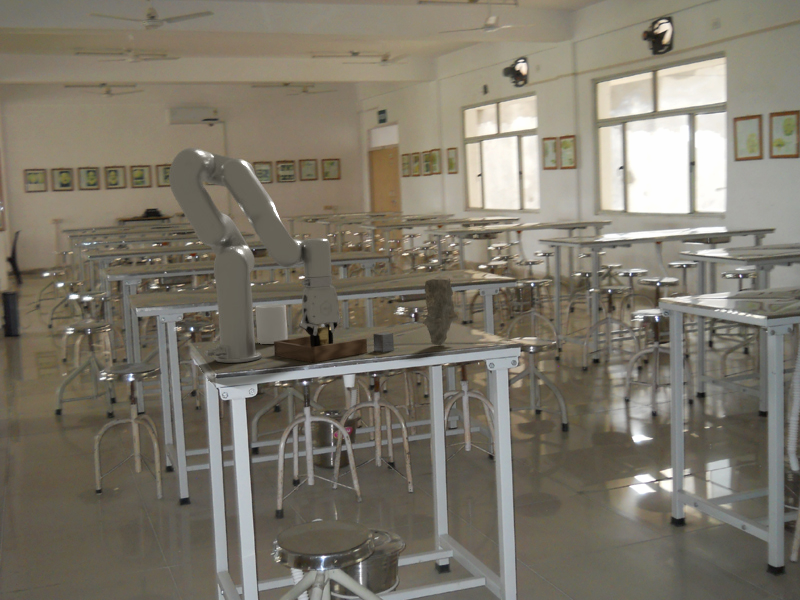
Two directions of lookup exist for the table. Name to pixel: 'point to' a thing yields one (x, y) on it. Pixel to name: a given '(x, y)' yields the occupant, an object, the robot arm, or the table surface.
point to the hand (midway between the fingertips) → (322, 347)
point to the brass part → (323, 335)
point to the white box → (271, 323)
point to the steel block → (383, 342)
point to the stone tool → (439, 309)
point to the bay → (318, 349)
